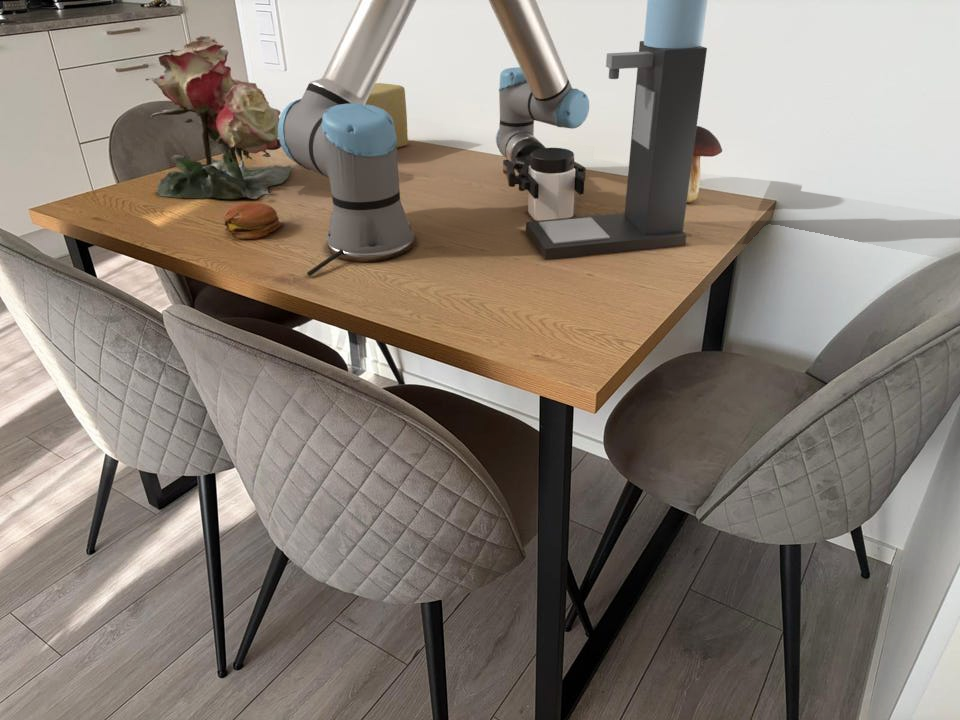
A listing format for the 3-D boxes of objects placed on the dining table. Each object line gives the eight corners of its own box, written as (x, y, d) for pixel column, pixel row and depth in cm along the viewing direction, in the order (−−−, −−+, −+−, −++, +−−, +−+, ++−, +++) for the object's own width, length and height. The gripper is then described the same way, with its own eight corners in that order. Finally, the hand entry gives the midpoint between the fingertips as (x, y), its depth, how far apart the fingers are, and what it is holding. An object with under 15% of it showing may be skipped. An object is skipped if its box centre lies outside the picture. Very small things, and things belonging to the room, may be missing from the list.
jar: (578, 220, 139) (581, 158, 133) (537, 225, 138) (538, 161, 132) (563, 205, 147) (565, 145, 141) (524, 209, 145) (524, 148, 139)
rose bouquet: (275, 202, 152) (248, 46, 136) (145, 197, 156) (105, 46, 140) (317, 166, 173) (299, 28, 157) (202, 163, 177) (173, 28, 162)
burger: (284, 221, 142) (280, 198, 140) (273, 239, 134) (268, 215, 132) (234, 222, 142) (229, 199, 140) (219, 240, 134) (214, 216, 132)
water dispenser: (544, 259, 124) (553, -43, 101) (525, 232, 135) (529, -47, 111) (690, 244, 128) (731, -49, 105) (660, 219, 139) (691, -52, 116)
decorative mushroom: (718, 197, 149) (729, 121, 141) (708, 214, 141) (720, 135, 133) (664, 190, 153) (673, 117, 145) (652, 207, 145) (660, 130, 137)
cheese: (351, 167, 172) (343, 101, 164) (321, 161, 176) (312, 97, 169) (410, 145, 187) (406, 84, 179) (381, 140, 192) (376, 80, 184)
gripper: (574, 169, 158) (611, 204, 139) (479, 177, 154) (504, 213, 135) (575, 134, 154) (614, 164, 135) (478, 141, 150) (504, 173, 131)
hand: (559, 189), depth 135 cm, fingers closed on jar, 8 cm apart
